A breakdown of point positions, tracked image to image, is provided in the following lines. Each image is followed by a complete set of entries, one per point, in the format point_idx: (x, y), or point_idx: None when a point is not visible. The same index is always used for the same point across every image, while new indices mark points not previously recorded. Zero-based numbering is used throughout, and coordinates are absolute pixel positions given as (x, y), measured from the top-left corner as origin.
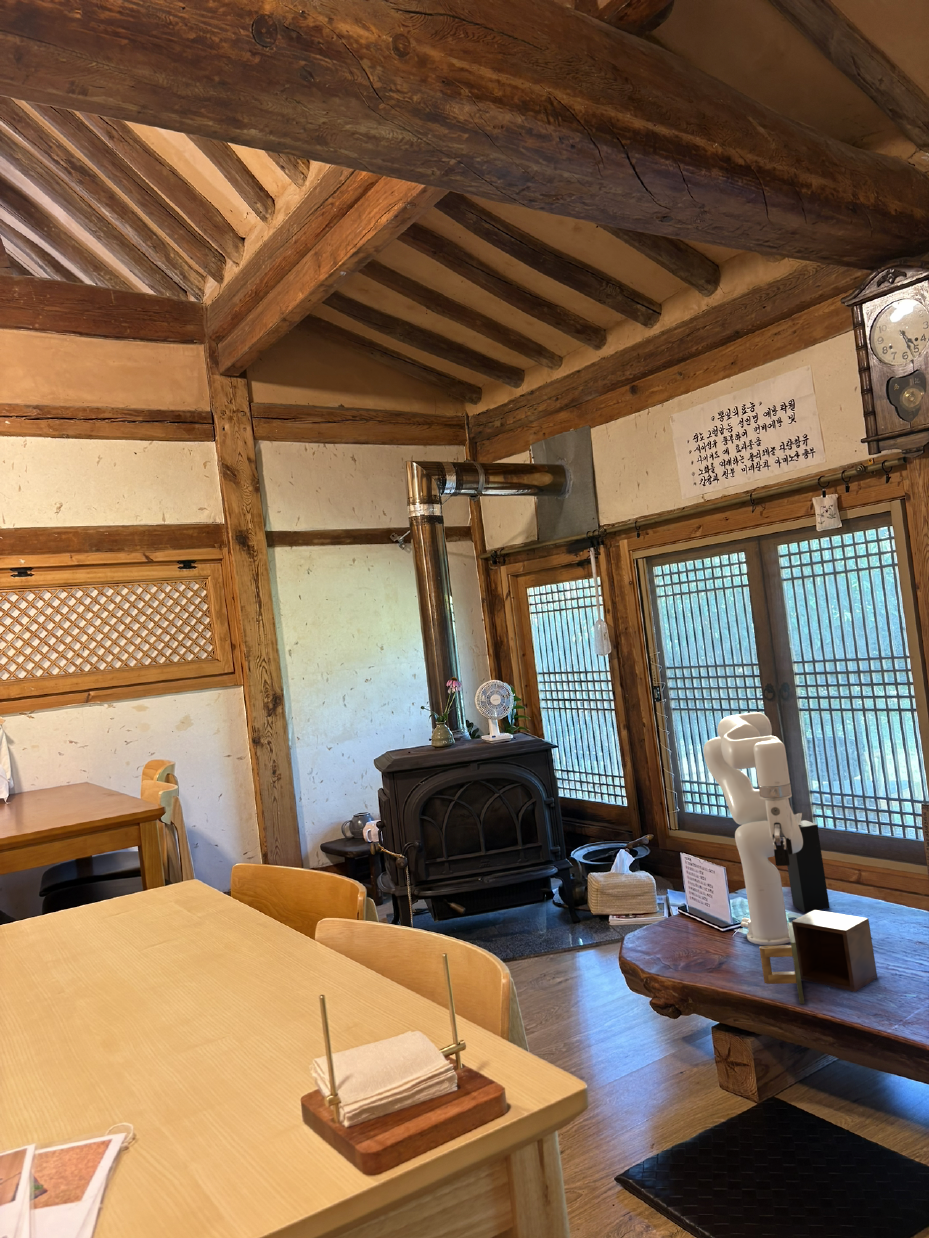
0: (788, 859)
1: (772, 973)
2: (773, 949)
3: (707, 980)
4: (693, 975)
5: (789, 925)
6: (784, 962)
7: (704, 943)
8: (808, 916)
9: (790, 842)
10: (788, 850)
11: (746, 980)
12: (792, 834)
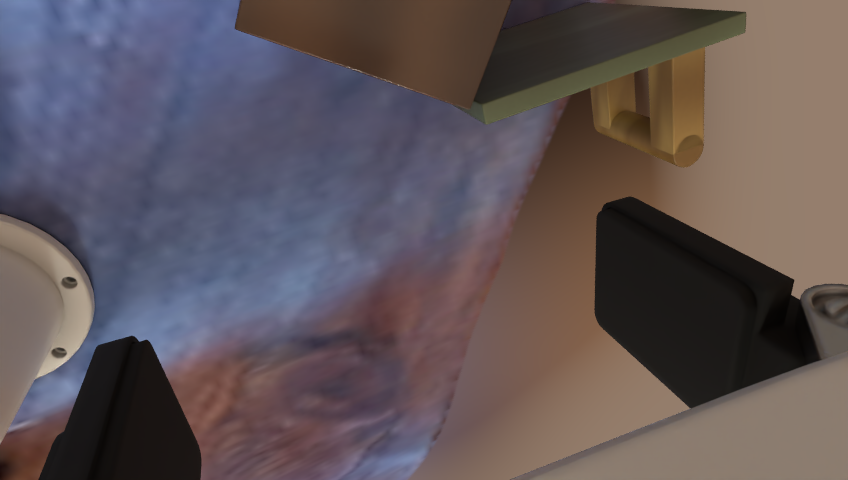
0: (671, 223)
1: (622, 110)
2: (701, 109)
3: (452, 319)
4: (425, 364)
5: (525, 104)
6: (242, 166)
7: None
8: (381, 36)
9: (108, 465)
10: (156, 400)
11: (432, 225)
12: (739, 436)
